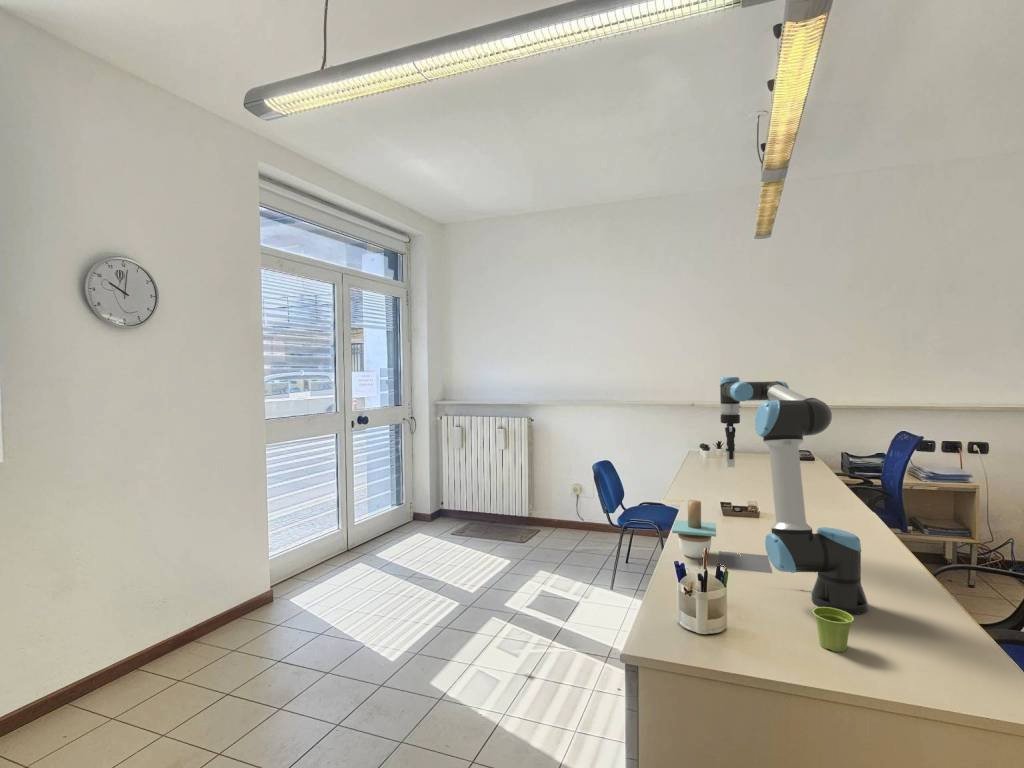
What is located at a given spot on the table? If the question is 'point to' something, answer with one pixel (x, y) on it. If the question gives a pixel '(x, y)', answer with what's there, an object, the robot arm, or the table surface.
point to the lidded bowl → (694, 544)
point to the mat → (745, 561)
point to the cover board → (692, 531)
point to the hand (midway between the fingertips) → (730, 464)
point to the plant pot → (833, 627)
